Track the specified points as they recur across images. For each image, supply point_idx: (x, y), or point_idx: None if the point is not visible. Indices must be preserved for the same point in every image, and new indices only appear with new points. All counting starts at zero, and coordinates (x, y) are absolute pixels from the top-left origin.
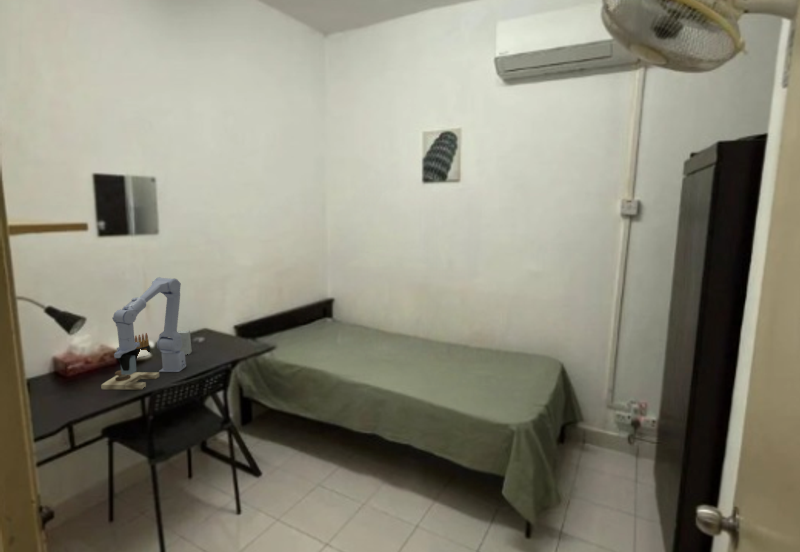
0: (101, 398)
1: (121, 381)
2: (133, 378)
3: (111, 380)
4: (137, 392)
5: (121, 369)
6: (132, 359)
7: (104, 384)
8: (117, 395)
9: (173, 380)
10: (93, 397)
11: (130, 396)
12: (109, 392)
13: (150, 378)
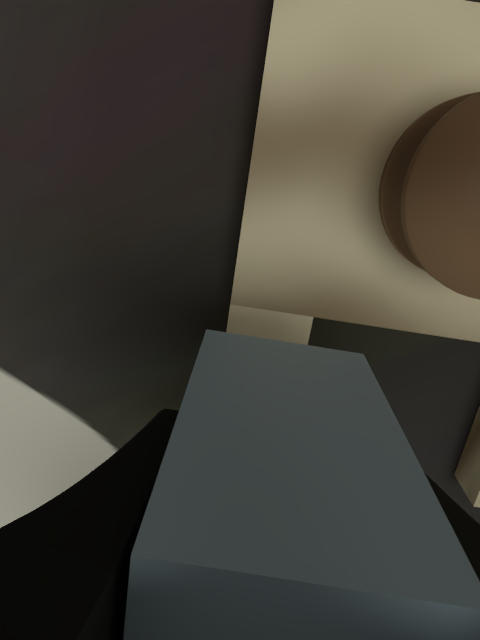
0: (16, 136)
1: (355, 215)
2: (425, 321)
3: (428, 53)
4: (149, 421)
5: (191, 377)
6: None
7: (287, 20)
8: (89, 271)
9: None
10: (41, 21)
11: (64, 395)
12: (171, 149)
13: (473, 433)
